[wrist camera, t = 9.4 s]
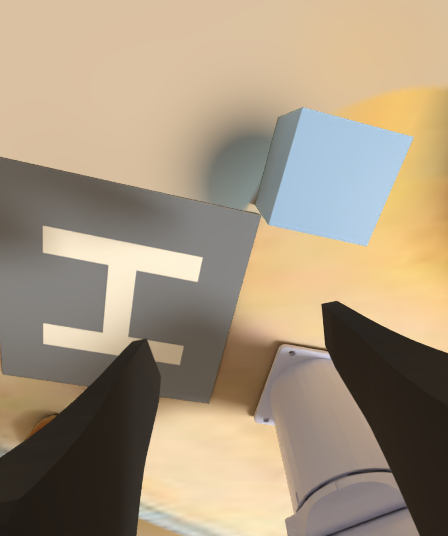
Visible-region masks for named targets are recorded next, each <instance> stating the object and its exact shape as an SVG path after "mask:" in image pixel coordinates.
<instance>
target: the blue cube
mask: <svg viewBox="0 0 448 536" xmlns="http://www.w3.org/2000/svg"><path fill="white" fill-rule="evenodd" d="M413 138H414V137H411V136H408V135H404V134H400V133H397V132H393V131H389V130H385V129H382V128H378V127H374V126H371V125H367V124H363V123H359V122H356V121H352V120H348V119H345V118H341V117H337V116H333V115H330V114H326V113H322V112H318V111H315V110H311V109H307V108H303V107H302V108H300V109H297V110H295V111H292V112H290V113H288V114H285V115H283V116H280V117H278V119H277V123H276V127H275V131H274V134H273V138H272V142H271V146H270V149H269V153H268V157H267V161H266V165H265V168H264V172H263V176H262V180H261V183H260V187H259V192H258V196H257V199H256V203H255V206H256V207H257V209H258V210H259V212H260V213H261V215H262V216H263V217H264V219H265V220H266V222H267V223H268V225H271V226H276V227H280V228H285V229H289V230H294V231H298V232H303V233H308V234H312V235H317V236H321V237H326V238H331V239H335V240H340V241H344V242H349V243H354V244H358V245H363V246H367V244H368V242H369V240H370V238H371V235H372V233H373V231H374V228H375V226H376V224H377V221H378V219H379V217H380V214H381V212H382V210H383V207H384V205H385V203H386V200H387V198H388V196H389V193H390V191H391V189H392V186H393V184H394V182H395V179H396V177H397V175H398V172H399V170H400V168H401V166H402V163H403V161H404V159H405V156H406V154H407V152H408V149H409V147H410V145H411V142H412V140H413Z"/></svg>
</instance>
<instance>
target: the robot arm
mask: <svg viewBox="0 0 448 536" xmlns="http://www.w3.org/2000/svg"><path fill="white" fill-rule="evenodd" d="M322 315H323V326H324V337H325V346H326V348H327V351H323V350H317V349H311V348H305V347H299V346H294V345H288V344H283V345H281V346H280V347H279V348H278V351H277V353H276V356H275V359H274V362H273V365H272V367H271V370H270V373H269V376H268V378H267V381H266V384H265V387H264V389H263V392H262V395H261V398H260V400H259V403H258V406H257V409H256V411H255V414H254V420H255V422H257V423H261V424H268V425H275V428H276V432H277V437H278V442H279V446H280V451H281V455H282V460H283V464H284V469H285V474H286V478H287V483H288V487H289V492H290V496H291V501H292V506H293V510H294V515H292V516H290V517H288V518H286V519H285V523H286V529H287V534H288V536H448V353H446V352H443V351H440V350H437V349H434V348H432V347H429V346H427V345H424V344H421V343H419V342H416V341H414V340H411V339H409V338H407V337H404V336H402V335H400V334H398V333H396V332H394V331H392V330H389V329H387V328H385V327H383V326H381V325H380V324H378V323H376V322H374V321H372V320H370V319H368V318H366V317H365V316H363V315H361V314H359V313H358V312H356V311H354V310H352V309H351V308H349V307H347V306H345V305H344V304H342V303H340V302H338V301H334V302H329V303H324V304H322ZM290 351H294V352H292V353H289V352H290ZM160 385H161V375H160V372H159V370H158V367H157V364H156V362H155V359H154V356H153V354H152V351H151V348H150V346H149V343H148V341H147V338H146V339H141V340H136V341H132V342H131V343H130V344H129V345H128V346H127V347H126V348H125V349H124V350H123V351H122V352H121V353H120V354H119V356H118V357H117V358H116V359H115V360H114V361H113V362H112V363H111V364H110V365H109V366H108V367H107V368H106V370H105V371H104V372H103V373H102V374H101V375H100V376H99V377H98V378H97V379H96V380H95V381H94V382H93V383H92V384H91V385H90V386H89V387H88V388H87V389H86V390H85V391H84V392H83V393H82V394H81V395H80V396H79V397H78V398H77V399H76V400H74V401H73V402H72V403H71V404H70V405H69V406H68V407H67V408H65V409H64V410H63V411H62V412H61V413H60V414H58V415H57V416H56V417H55V418H54V419H52V420H51V421H50V422H49V423H47V424H46V425H45V426H43V427H42V428H41V429H39V430H38V431H37V432H36V433H34V434H33V435H32V436H30V437H29V438H28V439H26V440H25V441H24V442H22V443H21V444H19V445H18V446H17V447H15V448H14V449H12V450H11V451H9V452H8V453H6V454H5V455H3V456H2V457H0V536H136V534H137V524H138V515H139V505H140V496H141V489H142V481H143V473H144V467H145V461H146V456H147V451H148V447H149V443H150V438H151V434H152V430H153V425H154V421H155V416H156V412H157V407H158V403H159V396H160Z"/></svg>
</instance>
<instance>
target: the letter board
mask: <svg viewBox="0 0 448 536" xmlns="http://www.w3.org/2000/svg"><path fill="white" fill-rule="evenodd" d="M260 218H261V215H260V214H255V213H251V212H246V211H242V210H237V209H233V208H228V207H224V206H219V205H215V204H210V203H206V202H201V201H197V200H192V199H188V198H183V197H179V196H174V195H170V194H165V193H161V192H156V191H152V190H147V189H142V188H138V187H134V186H129V185H125V184H120V183H116V182H111V181H107V180H102V179H98V178H93V177H89V176H84V175H80V174H75V173H71V172H66V171H62V170H57V169H52V168H48V167H44V166H39V165H35V164H30V163H26V162H21V161H17V160H12V159H8V158H3V157H0V346H1V360H2V374H4V375H11V376H18V377H25V378H32V379H39V380H46V381H53V382H60V383H67V384H74V385H81V386H88V387H89V386H90V385H91V384H92V383H93V382H94V381H95V380H96V379H97V378H98V377H99V376H100V375H101V374H102V373H103V372H104V371H105V370H106V368H107V367H108V366H109V365H110V364H111V363H112V362H113V361H114V360H115V359H116V358H117V357H118V356H119V354H120V353H121V352H122V351H123V350H124V349H125V348H126V347H127V346H128V345H129V344H130V343H131V342H132V341H136V340H141V339H146V338H147V341H148V343H149V346H150V348H151V351H152V354H153V356H154V359H155V362H156V364H157V367H158V370H159V372H160V375H161V385H160V396H159V397H166V398H173V399H180V400H187V401H194V402H201V403H208V404H209V401H210V398H211V394H212V391H213V387H214V383H215V380H216V376H217V373H218V369H219V365H220V362H221V358H222V355H223V351H224V347H225V344H226V340H227V337H228V333H229V329H230V326H231V322H232V319H233V315H234V311H235V308H236V304H237V301H238V297H239V293H240V290H241V286H242V283H243V279H244V275H245V272H246V268H247V265H248V261H249V257H250V254H251V250H252V247H253V243H254V239H255V236H256V232H257V228H258V225H259V221H260Z"/></svg>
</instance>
